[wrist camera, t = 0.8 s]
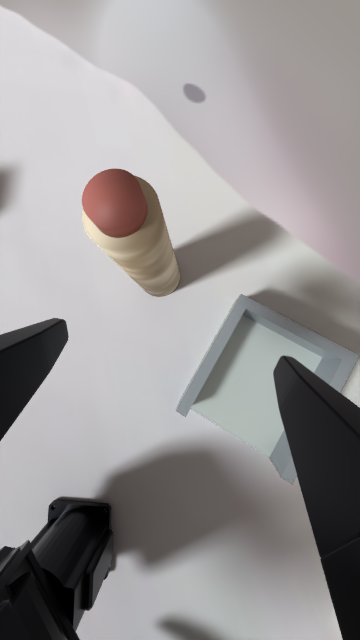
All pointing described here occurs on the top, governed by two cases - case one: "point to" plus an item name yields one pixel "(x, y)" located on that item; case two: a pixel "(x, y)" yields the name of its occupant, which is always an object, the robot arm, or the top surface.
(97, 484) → the top surface
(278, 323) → the tray
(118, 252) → the red-capped cream cylinder
